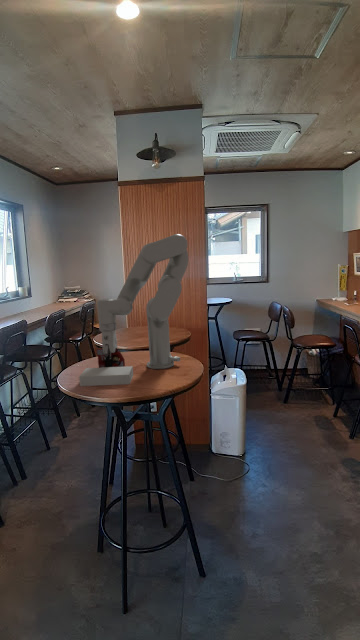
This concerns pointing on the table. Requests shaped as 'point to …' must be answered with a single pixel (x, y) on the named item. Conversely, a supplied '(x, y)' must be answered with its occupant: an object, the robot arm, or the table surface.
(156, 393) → the table surface
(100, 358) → the toy fire truck
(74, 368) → the table surface
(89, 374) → the block
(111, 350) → the robot arm
